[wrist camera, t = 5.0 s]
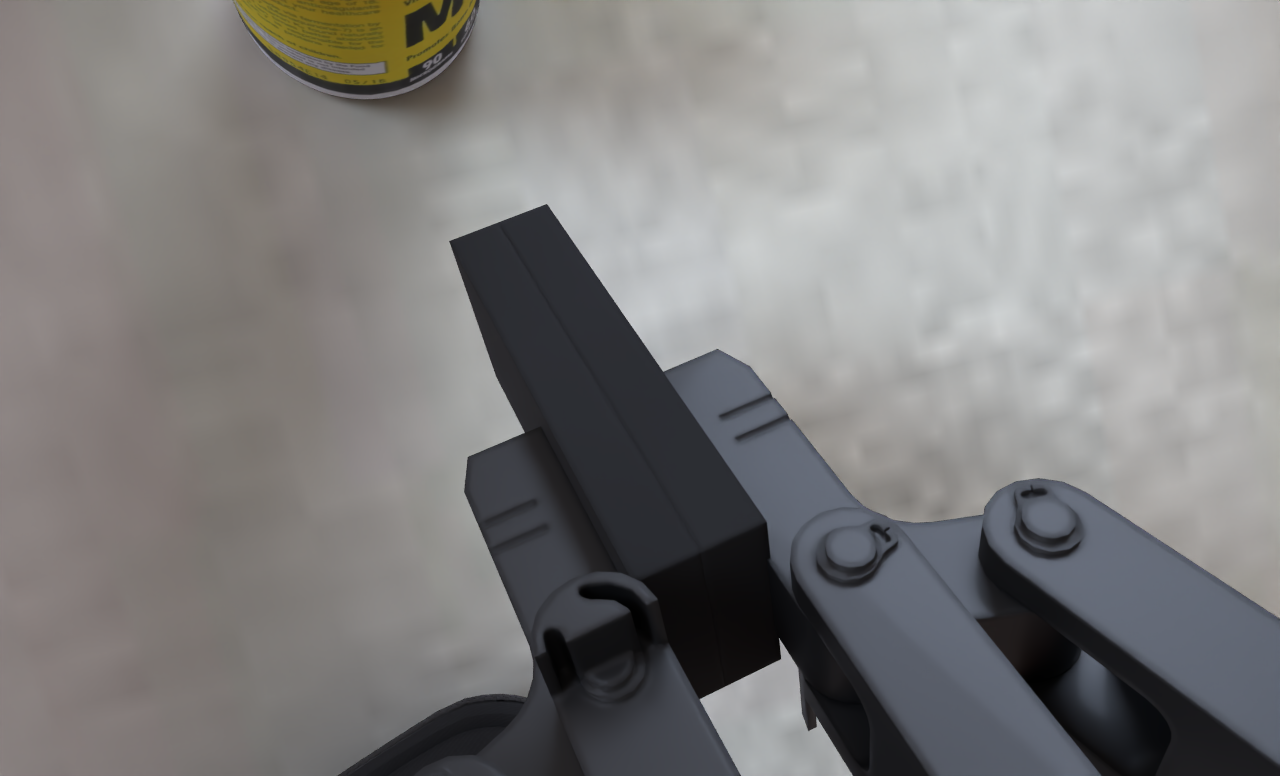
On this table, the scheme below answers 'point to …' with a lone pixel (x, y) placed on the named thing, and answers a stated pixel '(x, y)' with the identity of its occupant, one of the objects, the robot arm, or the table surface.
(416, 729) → the carrying case
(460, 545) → the table surface
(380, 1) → the supplement bottle
